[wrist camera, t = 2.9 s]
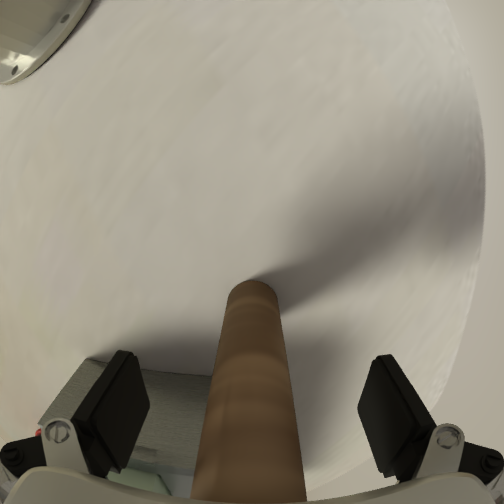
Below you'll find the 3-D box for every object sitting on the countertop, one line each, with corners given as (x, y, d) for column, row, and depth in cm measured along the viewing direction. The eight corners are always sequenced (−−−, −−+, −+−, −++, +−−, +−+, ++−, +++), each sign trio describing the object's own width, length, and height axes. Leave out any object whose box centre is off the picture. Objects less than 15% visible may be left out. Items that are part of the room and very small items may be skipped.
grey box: (85, 358, 18) (37, 423, 10) (230, 377, 18) (219, 472, 10) (138, 467, 23) (122, 516, 15) (236, 481, 23) (233, 536, 15)
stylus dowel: (226, 280, 16) (167, 542, 3) (278, 280, 16) (326, 546, 3) (228, 324, 17) (192, 559, 3) (276, 325, 17) (302, 561, 3)
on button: (104, 431, 13) (79, 485, 9) (164, 445, 13) (147, 508, 9) (123, 462, 15) (106, 510, 10) (177, 474, 15) (166, 527, 10)
